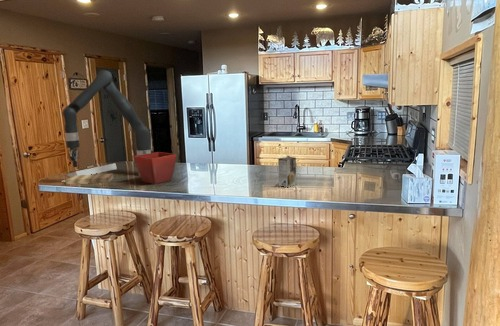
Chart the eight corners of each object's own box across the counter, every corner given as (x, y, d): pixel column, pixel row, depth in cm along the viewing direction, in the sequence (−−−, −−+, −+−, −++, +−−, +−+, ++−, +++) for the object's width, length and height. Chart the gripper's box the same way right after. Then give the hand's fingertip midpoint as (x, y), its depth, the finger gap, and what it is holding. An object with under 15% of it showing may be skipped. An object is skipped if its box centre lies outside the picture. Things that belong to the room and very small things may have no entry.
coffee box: (287, 183, 214) (286, 156, 211) (296, 184, 210) (296, 157, 207) (278, 186, 207) (277, 158, 205) (287, 187, 203) (287, 159, 201)
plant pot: (152, 186, 216) (150, 158, 213) (134, 182, 228) (132, 155, 225) (178, 180, 230) (177, 154, 227) (160, 177, 242) (158, 151, 239)
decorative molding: (68, 180, 252) (77, 178, 247) (66, 174, 251) (75, 171, 247) (108, 171, 281) (117, 169, 277) (106, 166, 281) (115, 163, 276)
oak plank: (95, 178, 241) (95, 174, 241) (89, 183, 228) (89, 178, 227) (73, 180, 239) (72, 175, 239) (66, 184, 226) (65, 180, 225)
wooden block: (113, 177, 243) (113, 173, 242) (108, 182, 229) (108, 177, 229) (96, 178, 241) (95, 174, 241) (90, 183, 228) (89, 178, 227)
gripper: (75, 140, 223) (78, 168, 225) (81, 138, 235) (84, 164, 238) (62, 141, 221) (65, 169, 224) (69, 139, 234) (72, 165, 237)
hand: (75, 166), depth 231 cm, fingers closed
